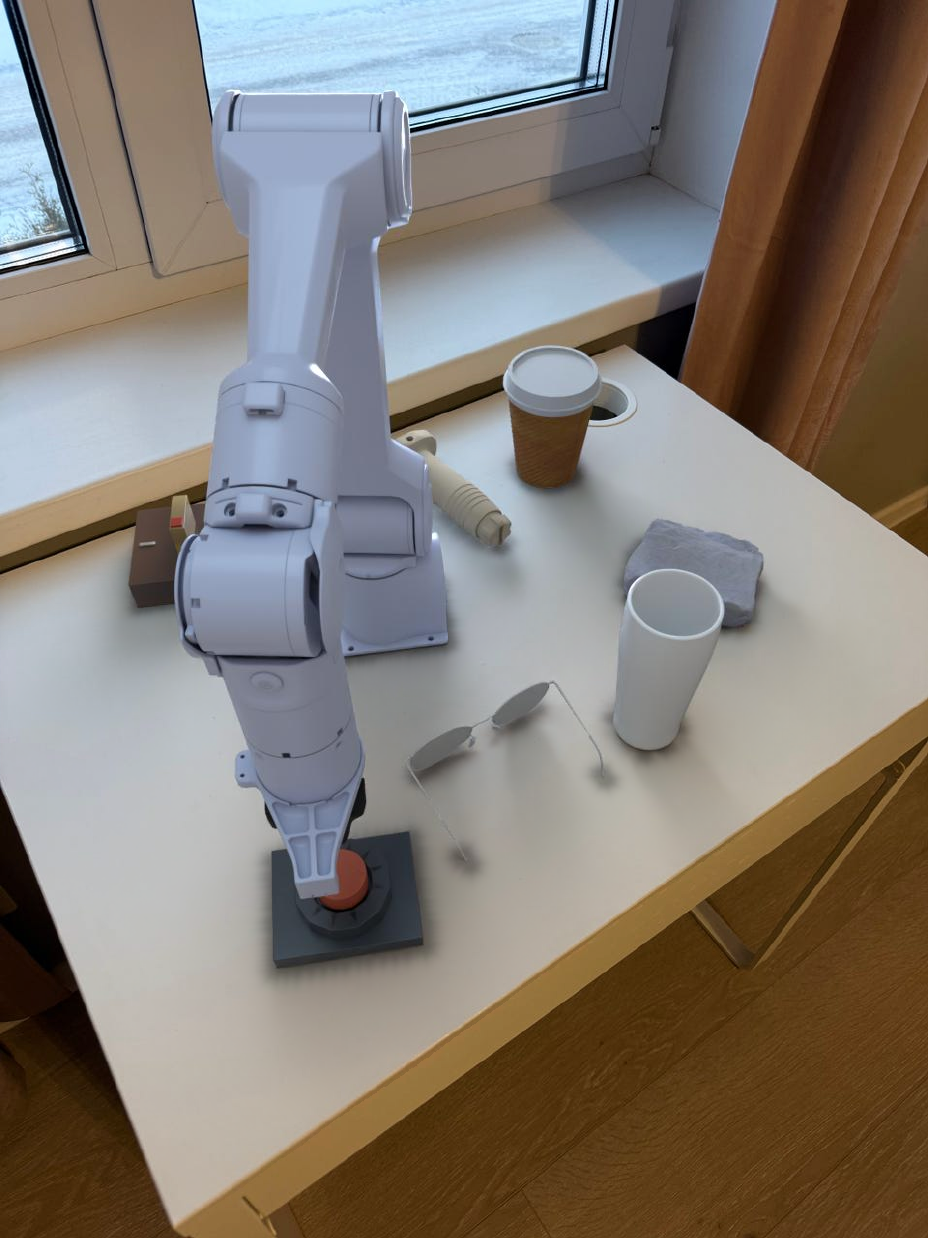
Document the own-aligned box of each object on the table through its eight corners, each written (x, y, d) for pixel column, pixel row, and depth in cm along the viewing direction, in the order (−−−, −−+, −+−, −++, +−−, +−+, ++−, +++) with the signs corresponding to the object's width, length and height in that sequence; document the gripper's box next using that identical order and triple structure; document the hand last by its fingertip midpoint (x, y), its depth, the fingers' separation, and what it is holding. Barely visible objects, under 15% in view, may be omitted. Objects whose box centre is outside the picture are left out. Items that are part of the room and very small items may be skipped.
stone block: (639, 547, 89) (614, 601, 81) (650, 505, 86) (625, 558, 78) (758, 582, 86) (744, 642, 78) (774, 541, 83) (761, 599, 75)
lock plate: (248, 521, 89) (242, 497, 87) (248, 594, 83) (241, 570, 80) (146, 533, 88) (136, 509, 86) (137, 607, 82) (127, 584, 79)
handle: (474, 567, 86) (381, 483, 93) (524, 537, 88) (430, 457, 95) (476, 532, 82) (378, 447, 89) (527, 502, 84) (429, 421, 92)
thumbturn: (181, 524, 85) (171, 494, 82) (195, 522, 85) (186, 492, 82) (178, 557, 82) (168, 527, 79) (193, 555, 82) (183, 525, 79)
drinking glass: (634, 774, 70) (664, 654, 58) (587, 711, 74) (607, 587, 62) (704, 740, 72) (747, 617, 60) (654, 680, 76) (686, 554, 64)
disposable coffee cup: (490, 448, 96) (492, 350, 87) (575, 434, 98) (585, 336, 89) (514, 506, 90) (518, 406, 81) (604, 490, 92) (617, 391, 83)
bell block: (410, 839, 66) (408, 820, 64) (423, 945, 61) (421, 928, 59) (274, 859, 65) (267, 840, 63) (276, 968, 60) (268, 952, 58)
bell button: (366, 857, 63) (364, 845, 61) (370, 906, 60) (368, 895, 59) (314, 864, 62) (311, 853, 61) (317, 914, 60) (313, 903, 59)
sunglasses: (546, 701, 74) (556, 671, 70) (606, 782, 71) (621, 756, 67) (401, 779, 70) (403, 753, 65) (458, 871, 66) (464, 849, 62)
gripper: (220, 614, 50) (264, 747, 60) (213, 852, 41) (266, 961, 51) (346, 599, 51) (368, 733, 61) (368, 829, 41) (389, 941, 52)
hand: (329, 835), depth 56 cm, fingers closed
